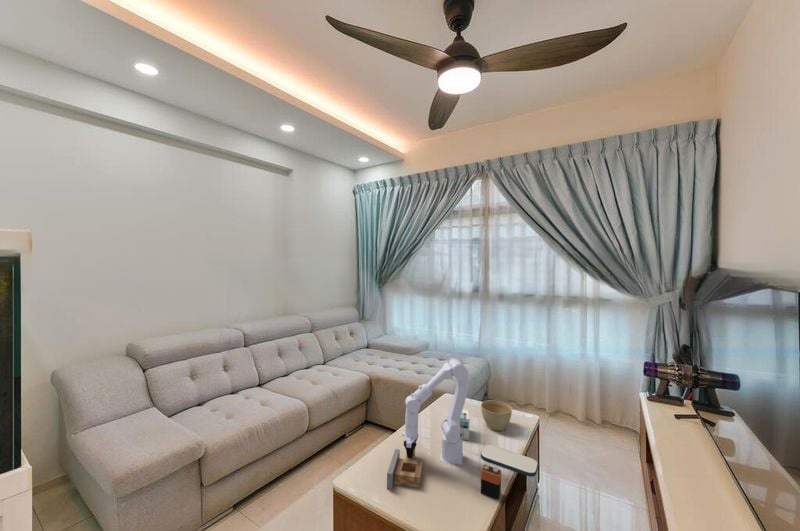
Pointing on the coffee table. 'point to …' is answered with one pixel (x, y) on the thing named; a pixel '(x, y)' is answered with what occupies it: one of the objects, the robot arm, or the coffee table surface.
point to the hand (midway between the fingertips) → (410, 454)
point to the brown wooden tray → (408, 473)
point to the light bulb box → (464, 425)
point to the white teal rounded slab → (510, 460)
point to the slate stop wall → (392, 469)
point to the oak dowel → (413, 455)
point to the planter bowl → (496, 414)
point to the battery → (491, 481)
